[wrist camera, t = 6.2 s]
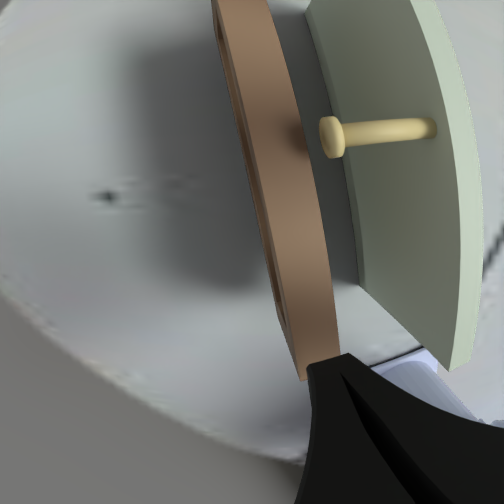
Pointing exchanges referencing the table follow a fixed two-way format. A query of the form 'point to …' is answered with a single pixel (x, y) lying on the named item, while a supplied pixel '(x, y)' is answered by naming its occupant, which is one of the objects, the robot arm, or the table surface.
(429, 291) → the curved green slab
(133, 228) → the table surface
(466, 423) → the robot arm
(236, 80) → the picture frame
